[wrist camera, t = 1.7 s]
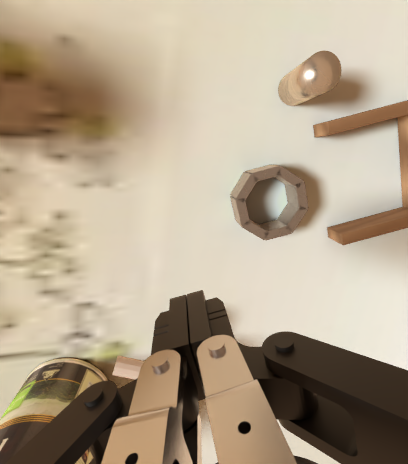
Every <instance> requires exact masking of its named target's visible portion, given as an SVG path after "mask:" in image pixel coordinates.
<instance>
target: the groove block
mask: <svg viewBox="0 0 408 464" xmlns="http://www.w3.org/2000/svg"><path fill="white" fill-rule="evenodd" d="M393 118H397V119H398V136H399V152H400V169H401V186H402V203H403V207H401V208H397V209H393V210H390V211H386V212H382V213H379V214H375V215H371V216H368V217H364V218H360V219H357V220H353V221H349V222H346V223H342V224H338V225H335V226H331V227H327V230H328V237H329V238H331V239H333V240H334V241H336V242H338V243H340V244H342V245H346V244H350V243H353V242H357V241H360V240H364V239H368V238H371V237H375V236H379V235H382V234H386V233H390V232H393V231H397V230H401V229H404V228H408V100H407V101H404V102H400V103H396V104H392V105H388V106H384V107H381V108H377V109H373V110H369V111H365V112H362V113H358V114H354V115H350V116H346V117H343V118H339V119H335V120H331V121H327V122H324V123H320V124H316V125H313V128H314V135H315V137H320V136H327V135H332V134H336V133H340V132H344V131H347V130H351V129H355V128H359V127H362V126H366V125H370V124H374V123H378V122H381V121H385V120H389V119H393Z"/></svg>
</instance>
